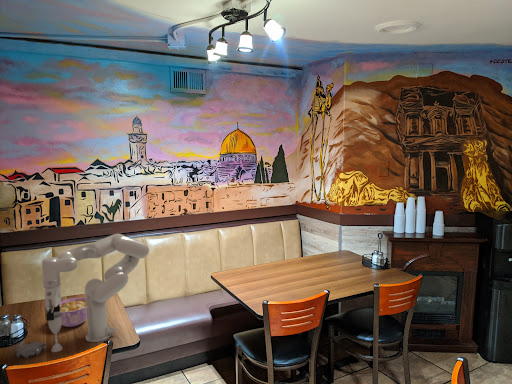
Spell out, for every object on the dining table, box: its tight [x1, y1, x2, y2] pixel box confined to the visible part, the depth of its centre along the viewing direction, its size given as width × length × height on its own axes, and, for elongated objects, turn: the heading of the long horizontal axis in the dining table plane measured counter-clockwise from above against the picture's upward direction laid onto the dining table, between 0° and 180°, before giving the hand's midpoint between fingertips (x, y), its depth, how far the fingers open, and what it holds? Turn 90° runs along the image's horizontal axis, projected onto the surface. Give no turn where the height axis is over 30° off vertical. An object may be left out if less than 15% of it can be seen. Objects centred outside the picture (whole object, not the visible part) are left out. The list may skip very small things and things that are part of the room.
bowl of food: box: [54, 297, 88, 328], centre depth 217 cm, size 20×20×12 cm
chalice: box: [47, 312, 64, 353], centre depth 189 cm, size 7×7×18 cm
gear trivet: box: [16, 341, 47, 359], centre depth 188 cm, size 13×13×2 cm
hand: (53, 315), depth 188 cm, fingers open, 9 cm apart
